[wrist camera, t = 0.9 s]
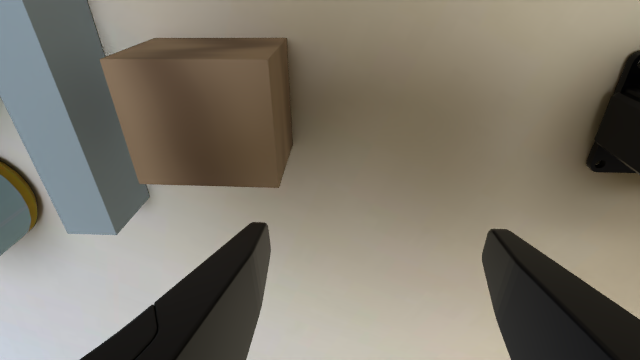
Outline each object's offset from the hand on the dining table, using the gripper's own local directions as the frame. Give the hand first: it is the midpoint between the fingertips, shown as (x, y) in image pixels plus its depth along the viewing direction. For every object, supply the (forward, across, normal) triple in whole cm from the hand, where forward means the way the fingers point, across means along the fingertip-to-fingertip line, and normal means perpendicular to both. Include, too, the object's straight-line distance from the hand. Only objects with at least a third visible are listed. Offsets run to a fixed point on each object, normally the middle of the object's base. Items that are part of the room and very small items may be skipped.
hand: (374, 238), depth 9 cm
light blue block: (+12, +16, 0) cm, 20 cm away
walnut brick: (+12, +8, 0) cm, 14 cm away
